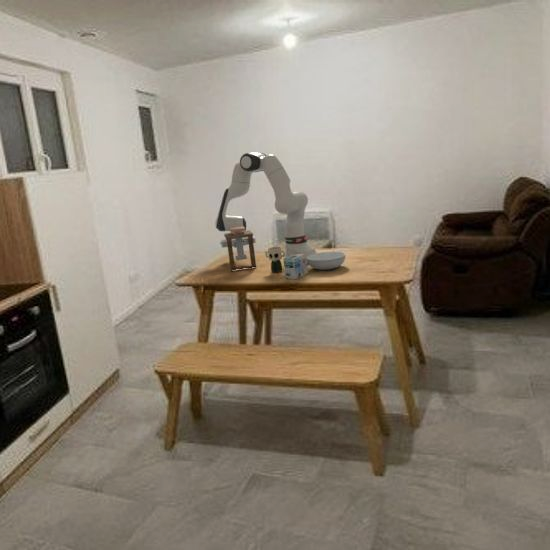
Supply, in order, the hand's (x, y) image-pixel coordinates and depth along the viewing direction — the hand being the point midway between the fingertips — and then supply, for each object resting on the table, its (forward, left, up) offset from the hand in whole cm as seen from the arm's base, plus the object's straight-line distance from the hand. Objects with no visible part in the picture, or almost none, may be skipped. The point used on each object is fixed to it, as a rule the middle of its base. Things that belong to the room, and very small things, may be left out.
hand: (239, 243), depth 281 cm
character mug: (-27, -5, -14) cm, 31 cm away
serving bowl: (-46, -24, -14) cm, 54 cm away
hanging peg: (+1, 0, -9) cm, 9 cm away
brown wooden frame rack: (0, 0, -14) cm, 14 cm away
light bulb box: (-45, -4, -14) cm, 48 cm away
